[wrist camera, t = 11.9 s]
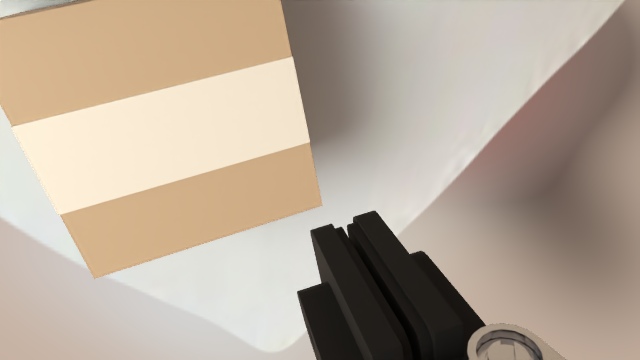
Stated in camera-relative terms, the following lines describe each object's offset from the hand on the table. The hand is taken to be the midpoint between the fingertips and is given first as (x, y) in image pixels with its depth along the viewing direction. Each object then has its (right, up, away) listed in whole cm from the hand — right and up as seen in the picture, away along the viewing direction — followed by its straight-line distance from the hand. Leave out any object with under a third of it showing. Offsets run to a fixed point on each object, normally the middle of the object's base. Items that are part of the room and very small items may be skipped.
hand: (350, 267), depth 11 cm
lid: (-9, +5, +13) cm, 16 cm away
